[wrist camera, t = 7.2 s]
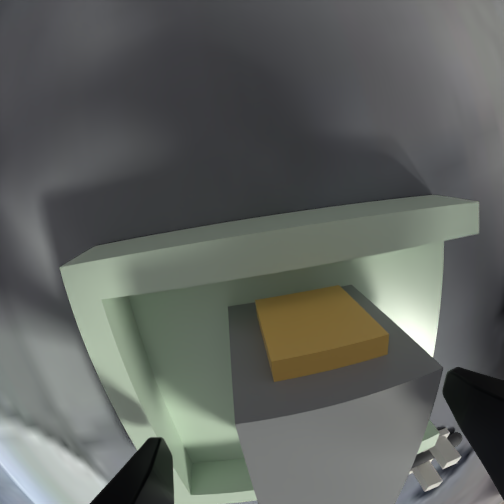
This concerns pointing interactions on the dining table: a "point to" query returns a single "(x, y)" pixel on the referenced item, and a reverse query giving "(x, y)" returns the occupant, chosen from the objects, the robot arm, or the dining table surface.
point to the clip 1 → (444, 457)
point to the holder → (236, 293)
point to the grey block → (327, 397)
